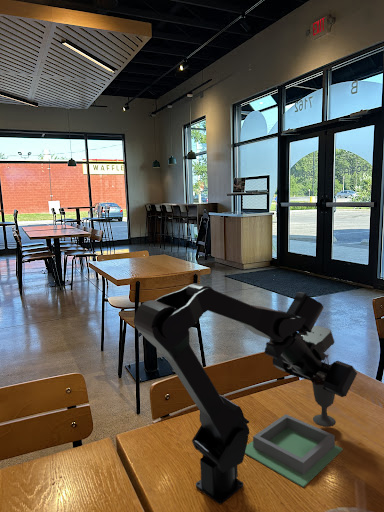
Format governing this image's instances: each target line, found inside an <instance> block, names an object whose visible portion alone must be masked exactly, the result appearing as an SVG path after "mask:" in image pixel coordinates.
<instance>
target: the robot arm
mask: <svg viewBox="0 0 384 512" xmlns="http://www.w3.org/2000/svg"><path fill="white" fill-rule="evenodd" d="M288 307H289V308H288V309H287V311H283V310H276V309H273V308H269V307H265V306H261V305H254V304H253V305H252V304H249V303H246V302H243V301H241V300H240V299H236V298H234V297H232V296H229V295H226V294H225V293H222V292H220V291H218V290H215V289H213V288H212V286H209V285H205V284H199V283H195V282H193V283H190V284H188V285H186V286H185V287H183V288H181V289H178V290H176V291H173V292H170V293H167V294H164V295H161V296H160V297H157V298H155V300H153V299H151V300H146V301H145V302H142V303H141V304H140V305H139V306H138V308H137V309H136V311H135V313H134V317H133V325H134V326H135V329H137V331H138V333H140V334H141V335H142V336H143V337H144V338H145V339H146V340H147V341H148V342H149V343H150V344H151V345H152V346H154V347H155V348H156V350H158V351H159V352H160V353H162V355H163V356H164V357H165V358H166V360H167V362H168V364H169V366H170V367H171V368H172V370H173V371H174V373H175V374H176V376H177V377H178V379H179V380H180V382H181V384H182V385H183V387H184V388H185V389H186V391H187V393H188V395H189V397H190V398H191V399H192V401H193V402H194V404H195V405H196V407H197V408H198V410H199V422H200V426H199V428H198V430H197V431H196V433H195V435H194V436H193V438H192V440H191V442H192V445H193V447H194V449H195V450H197V451H198V452H199V453H201V454H202V457H201V458H200V459H199V460H200V462H199V463H200V480H198V481H197V482H195V487H196V488H197V490H199V491H201V492H202V493H204V494H205V495H206V496H207V497H209V498H210V499H212V500H213V501H214V502H215V503H217V504H218V505H222V504H223V503H224V502H226V501H227V500H229V499H230V498H231V497H232V496H233V495H234V494H236V493H237V492H239V491H240V490H241V489H242V488H243V487H244V482H243V481H241V480H240V479H239V478H238V477H239V476H238V466H239V465H241V464H242V463H243V462H244V458H245V455H246V454H245V450H246V446H247V445H248V442H249V435H250V428H249V425H248V424H249V423H250V421H249V420H248V419H247V418H246V417H245V415H244V412H243V410H242V408H241V407H240V405H238V404H236V403H235V402H233V401H232V400H230V399H228V398H226V397H225V396H223V395H221V394H219V392H218V390H217V389H216V386H215V385H214V383H213V382H212V380H211V378H210V377H209V375H208V373H207V372H206V370H205V368H204V367H203V365H202V364H201V362H200V360H199V358H198V357H197V354H196V353H195V352H194V350H193V348H192V347H191V344H190V334H191V333H190V330H189V329H191V328H193V327H194V326H195V325H197V323H198V321H199V320H200V319H201V317H203V314H204V313H206V312H211V313H213V314H216V315H219V316H221V317H224V318H227V319H229V320H232V321H235V322H237V323H240V324H241V325H243V327H244V328H246V329H247V330H249V331H250V332H251V333H253V334H255V335H258V336H260V337H263V338H265V339H268V341H267V342H266V343H265V345H266V346H265V348H264V354H265V355H267V356H268V357H269V356H270V357H272V365H273V366H274V367H275V368H276V369H277V370H280V371H282V372H285V373H287V374H289V375H291V376H293V377H295V378H296V377H297V378H300V379H303V380H306V381H311V380H310V379H312V377H313V376H314V377H315V376H316V375H317V373H320V374H323V375H325V376H326V377H325V379H324V388H323V389H324V390H326V391H329V392H331V393H333V394H335V396H339V397H341V398H344V397H346V396H347V394H348V393H349V390H350V389H351V387H352V385H353V383H354V380H355V379H356V377H357V375H358V372H357V370H356V368H355V367H354V366H353V365H350V364H349V363H345V362H343V361H341V360H340V361H339V360H336V361H334V362H332V363H330V364H328V363H326V362H325V360H326V355H327V354H326V353H325V352H326V351H328V350H329V349H330V348H331V346H333V345H334V344H335V339H334V336H333V332H332V329H330V328H328V327H323V326H320V325H316V323H317V321H318V320H319V317H320V316H321V314H322V312H323V310H324V305H323V304H322V303H321V302H319V301H318V300H316V299H314V298H313V297H311V296H309V295H307V293H306V292H300V291H297V293H296V294H295V296H294V299H293V300H292V302H291V304H290V306H288ZM323 361H324V362H325V363H324V362H323Z"/></svg>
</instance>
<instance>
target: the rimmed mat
mask: <svg viewBox="0 0 384 512" xmlns="http://www.w3.org/2000/svg"><path fill="white" fill-rule="evenodd" d="M335 438H336V437H335V435H334V434H332V433H331V432H328V431H325V430H323V429H321V428H319V427H316V426H314V425H311V424H310V423H307V422H305V421H304V420H303V421H302V420H300V419H298V418H295V417H293V416H291V415H289V414H287V413H285V414H284V415H283V416H281V417H279V418H278V419H276V420H275V421H273V422H272V423H271V424H269V425H268V426H266V427H265V428H263V429H262V430H260V431H259V432H257V433H256V434H254V435H253V436H252V441H250V442H249V443H247V446H246V450H245V455H246V456H248V457H250V458H251V459H253V460H255V461H257V462H258V463H260V464H262V465H264V466H266V467H267V468H268V469H270V470H272V471H274V472H276V473H278V475H281V476H282V477H285V479H287V480H289V481H291V482H293V483H295V484H296V485H298V486H300V487H301V488H304V487H306V486H307V484H309V483H310V482H311V480H313V479H314V478H315V477H316V476H317V475H318V474H319V473H320V472H321V471H322V470H324V469H325V467H326V466H328V465H329V463H331V462H332V461H333V460H334V459H335V458H337V456H338V455H339V454H340V453H341V452H343V449H344V448H342V447H340V446H338V445H336V443H335V442H336V441H335V440H336V439H335Z"/></svg>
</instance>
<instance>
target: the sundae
mask: <svg viewBox="0 0 384 512" xmlns="http://www.w3.org/2000/svg"><path fill="white" fill-rule="evenodd" d="M325 355H326V358H325V360H324V362H323V363H326V361H327V364H329V358H328V357H329V354H325ZM329 365H330V364H329ZM325 377H326V376H325V375H323V374H320V373H317V375H316V376H315V377H314V376H313V377H312V379H310V380H311V385H312V390H313V395H314V396H313V397H314V401H315V402H316V403H317V405H318V406H320V407H321V414H316V415H314V416H313V417H312V421H313V423H314V424H315V425H317V426H320V427H324V428H330V427H334V426H335V425H336V422H337V420H336V419H335V418H334V417H332V416H331V415H328V410H327V409H328V408H329V407H331V406H332V405H334V403H335V402H334V401H335V396H336V394H333V393H331V392H329V391H326V390H324V389H323V388H324V379H325ZM310 380H309V381H310Z"/></svg>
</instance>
